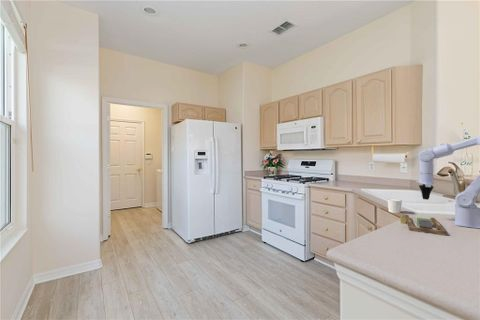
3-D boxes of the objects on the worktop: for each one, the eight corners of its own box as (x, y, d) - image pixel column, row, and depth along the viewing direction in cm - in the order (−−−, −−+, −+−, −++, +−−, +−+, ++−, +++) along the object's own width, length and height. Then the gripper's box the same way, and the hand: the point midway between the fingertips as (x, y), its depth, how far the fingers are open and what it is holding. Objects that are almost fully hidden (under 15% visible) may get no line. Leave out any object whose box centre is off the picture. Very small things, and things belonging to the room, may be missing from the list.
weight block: (430, 229, 99) (430, 220, 99) (432, 232, 96) (432, 223, 96) (419, 228, 101) (419, 219, 101) (420, 230, 98) (420, 221, 98)
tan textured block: (405, 221, 111) (405, 213, 111) (405, 223, 108) (405, 215, 108) (400, 221, 112) (400, 213, 112) (400, 222, 109) (400, 214, 109)
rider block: (428, 224, 106) (428, 216, 106) (430, 227, 102) (430, 219, 102) (415, 223, 109) (415, 215, 109) (416, 226, 105) (416, 217, 105)
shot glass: (404, 213, 126) (404, 201, 126) (392, 213, 127) (392, 201, 126) (396, 210, 133) (396, 198, 133) (384, 210, 133) (384, 198, 133)
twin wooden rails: (434, 220, 112) (434, 218, 112) (445, 235, 92) (446, 231, 92) (404, 217, 118) (404, 214, 118) (409, 230, 99) (409, 226, 99)
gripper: (414, 171, 125) (414, 196, 125) (418, 173, 112) (417, 200, 113) (431, 172, 121) (430, 197, 121) (436, 174, 109) (436, 202, 109)
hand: (425, 199), depth 117 cm, fingers closed
